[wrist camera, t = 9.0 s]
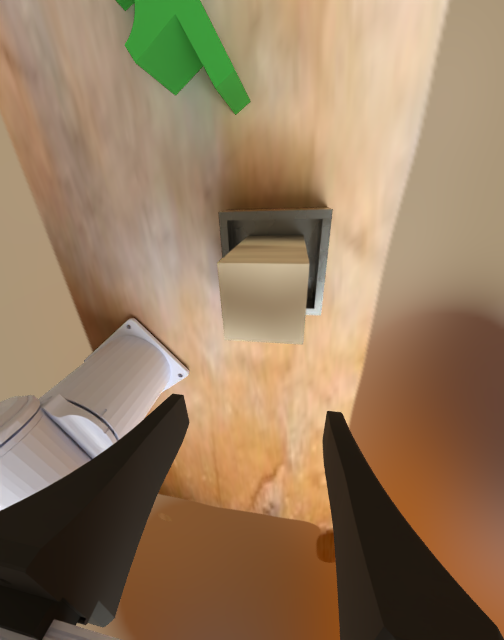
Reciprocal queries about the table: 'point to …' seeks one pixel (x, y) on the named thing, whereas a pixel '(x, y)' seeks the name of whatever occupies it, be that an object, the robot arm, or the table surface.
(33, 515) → the robot arm
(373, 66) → the table surface
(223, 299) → the rail post
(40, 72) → the table surface
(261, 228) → the dark gray open tray
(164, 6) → the pipe clamp
